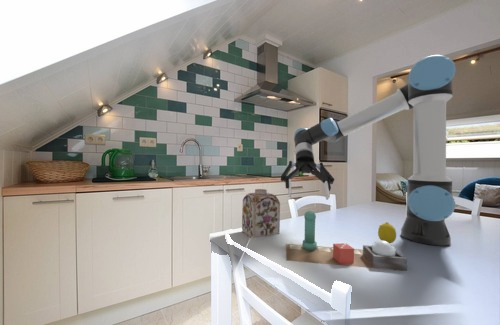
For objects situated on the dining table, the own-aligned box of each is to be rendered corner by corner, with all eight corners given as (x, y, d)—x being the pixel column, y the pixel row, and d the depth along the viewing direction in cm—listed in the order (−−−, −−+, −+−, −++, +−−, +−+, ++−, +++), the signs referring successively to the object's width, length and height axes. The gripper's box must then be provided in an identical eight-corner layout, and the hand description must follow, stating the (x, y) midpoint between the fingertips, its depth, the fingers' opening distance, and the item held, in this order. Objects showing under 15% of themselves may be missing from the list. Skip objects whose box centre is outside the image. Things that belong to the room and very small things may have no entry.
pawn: (315, 246, 72) (316, 209, 72) (317, 251, 67) (318, 212, 68) (301, 245, 72) (302, 209, 73) (303, 250, 68) (303, 212, 68)
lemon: (399, 248, 75) (399, 225, 75) (381, 246, 76) (381, 223, 76) (391, 242, 80) (392, 221, 80) (375, 241, 81) (375, 219, 81)
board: (384, 254, 69) (384, 241, 69) (407, 275, 56) (408, 259, 56) (285, 247, 74) (286, 234, 74) (286, 264, 61) (286, 249, 61)
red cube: (345, 256, 64) (346, 243, 64) (353, 263, 60) (354, 248, 60) (332, 257, 64) (333, 243, 64) (340, 263, 60) (340, 248, 60)
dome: (389, 254, 63) (389, 238, 63) (399, 262, 58) (399, 245, 58) (368, 252, 64) (369, 236, 64) (376, 260, 59) (377, 243, 59)
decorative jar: (252, 240, 79) (253, 191, 79) (241, 231, 90) (241, 188, 90) (280, 236, 84) (281, 190, 84) (266, 228, 95) (267, 187, 95)
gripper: (331, 163, 95) (340, 204, 81) (274, 159, 97) (274, 199, 83) (336, 150, 90) (347, 192, 75) (276, 147, 92) (275, 187, 77)
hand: (308, 196), depth 79 cm, fingers open, 13 cm apart
